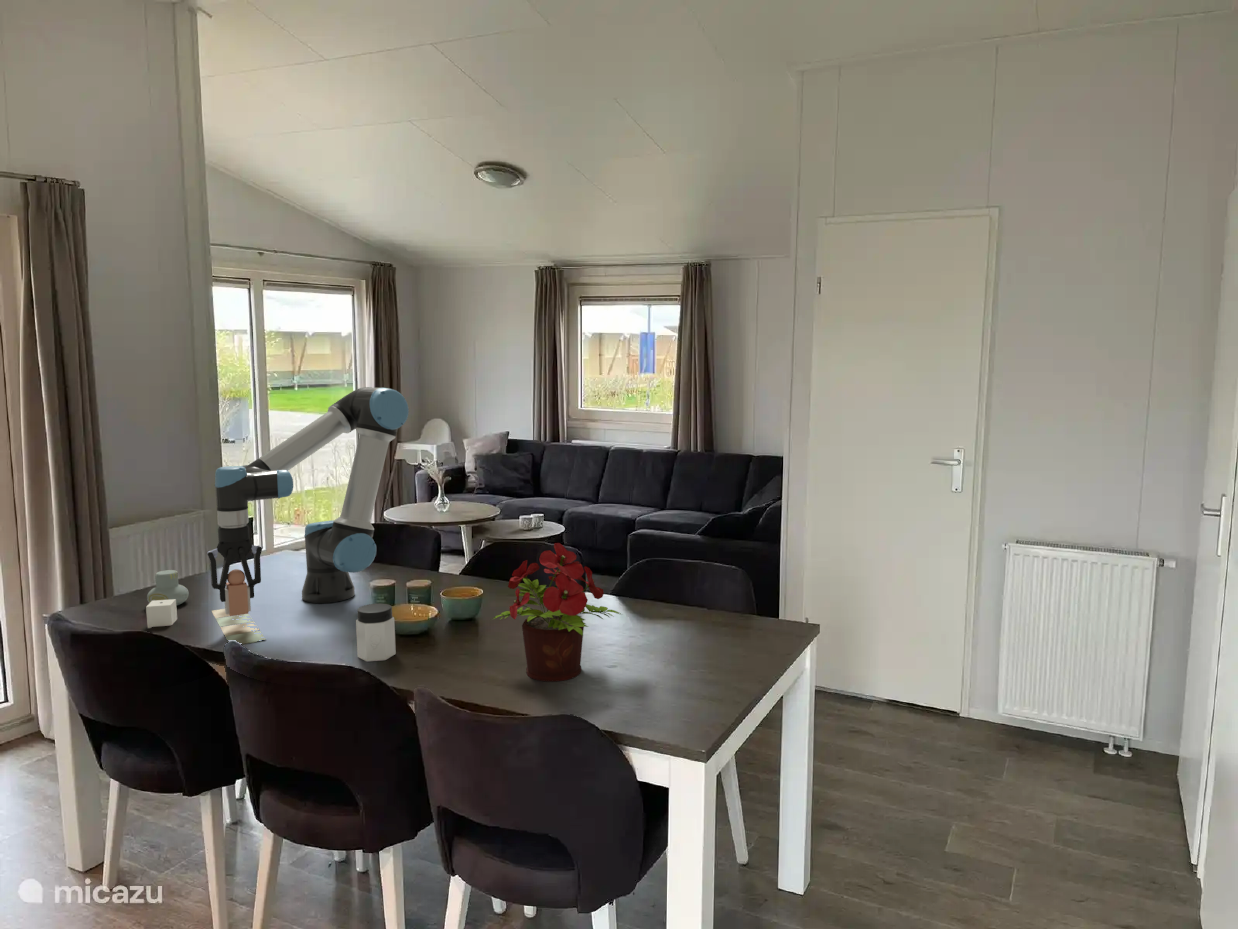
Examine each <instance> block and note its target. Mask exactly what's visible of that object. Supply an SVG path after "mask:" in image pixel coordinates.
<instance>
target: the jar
mask: <svg viewBox="0 0 1238 929" xmlns="http://www.w3.org/2000/svg"><path fill="white" fill-rule="evenodd" d="M356 613H357V619H355V630H356V650H357V652H356V653H357V654H356V655H357V658H359V659H361V660H362V661H364V662H368V663H369V662H380V661H386V660H388V659H390V658H391V657H394V655H396V653H397V652H396V631H395V630H396V629H395V628H396V627H395V617H394V616H393V607H392V605H390V604H387V603H369V604H365V605H361V606H360V607H358V608H357V610H356Z"/></svg>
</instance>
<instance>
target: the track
mask: <svg viewBox="0 0 1238 929" xmlns="http://www.w3.org/2000/svg"><path fill="white" fill-rule="evenodd" d="M211 613H212V615H213V616H214V618H215V620H216V622H217V624H218V626H219V627H220V629H221V631H222V634H223V636H224V635H225V636H224V637H226V638H225V639H226V641H227V640H236V641H237V642H239V643H242V645H247V644H253V643H258V642H257V641H259V640H266V641H267V639H266V637H265V636H264V634H263V633H262V632H261V630H260V629H259V627H258V629H257V628H255V629H254V628H250V627H247V626H257V624H256V625H254V624H248V625H247V624H246V623H255V621H254V620H253V618H252V617H251V615H250V614H243V615H236V616H230V615H229V614H228V615H227V614H226V613H225V608H221V609H213V610H211ZM239 616H242V617H239ZM243 616H245V617H243ZM246 616H250V617H251V618H247V617H246ZM232 619H234V620H232ZM236 619H239V620H236ZM242 619H252V620H253V621H250V620H249V621H247V620H242ZM241 623H242V624H241ZM243 626H244V627H243ZM251 630H253V631H254V630H256V631H255V632H253V631H251ZM257 630H260V631H257ZM254 633H262V634H261V635H260V634H254ZM261 637H265V638H261Z"/></svg>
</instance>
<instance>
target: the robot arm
mask: <svg viewBox="0 0 1238 929" xmlns="http://www.w3.org/2000/svg"><path fill="white" fill-rule="evenodd" d="M409 409H410V408H409V404H408V401H407V400H406V398H405V396H404V395H403V394H402V393H400V392H399V391H398V390H396V389H393V388H390V387H371V386H363V387H360V388H359V387H358V388H357V389H355V390H353V391H351V392H349V393H348V394H346V395H345V396H343V397H342V398H340V399H338V400H337V401H335V402H333V403H332V404H331V405H330V406H329V407H328V408H327V412H326V413H324V414H323V415H321V416H320V417H318V418H317V419H315V420H314V421H312V422H311V423H309V424H307V425H306V426H305V427H303V428H302V429H299V431H297V432H296V433H295V434H292V435H291V436H290V437H289V438H287V439H285V440H284V441H282V442H281V443H279V444H278V445H276V446H275V447H274V448H272V449H270V450H269V451H267V452H266V453H264V454H263V455H262V456H260V457H259V458H257V459H255V460H254V461H252V462H251V463H249V464H244V465H241V466H240V465H232V466H229V465H228V466H227V465H226V466H220V467H218V468H216V470H215V475H214V479H215V480H214V487H215V497H216V512H217V513H216V516H217V526H218V528H217V535H218V536H217V537H218V544H217V546H216V548H214V549H211V550H207V551H206V555H207V557H208V558H209V567H210V568H209V569H210V582H211V586H212V588H213V589H214V590H219V600H220V602H221V603H224V609H225V613H226V614H227V615H228V614H230V612H229V593H228V589H227V588H226V583H228V580H227V577H228V574H229V572H230V567H231V566H230V565H231V563H232V562H233V561H239V562H240V563H241V567H242V569H243V570H242V571H243V572H244V574H245V580H246V584H247V594H248V613H249V612H252V605H251V599H254V597H255V586H256V585H257V584H261V582H262V575H261V574H262V572H261V554H262V551H263V547H262V546H260V545H259V544H258V545H254V544H252V543H251V538H250V526H249V525H248V523H249V522H250V520H249V518H250V517H249V505H248V504H249V503H248V502H253V501H261V500H272V499H278V500H279V499H280V498H285V497H289V496H291V495H292V493H293V491H294V479H293V475H292V474H291V472H290V471H289V470H292V468H294V467H296V466H297V465H298V464H300V463H301V462H303V461H305V460H306V459H307V458H309V457H310V456H312V455H313V454H314V453H316V452H317V451H318V450H320V449H322V448H323V447H325V446H327V444H330V443H331V442H333V441H334V440H335V439H336V438H338V437H339V436H341V435H342V434H350V433H351V432H352V431H354V430H355V431H356V432H357V433H358V440H357V445H356V448H355V453H354V458H353V462H352V466H351V470H350V475H349V480H348V483H347V487H346V491H345V494H344V495H345V496H344V499H343V503H342V508H341V513H340V516H339V517H337V518H335V519H333V520H324V521H323V520H322V521H317V522H312V523H308V524H306V525H305V528H304V536H303V537H304V544H305V546H304V547H305V559H306V561H305V562H306V576H305V580H304V581H303V582H304V583H303V586H302V590H301V599H302V600H303V601H304V602H307V603H313V604H328V603H337V602H342V601H346V600H349V599H351V598H353V597H354V596H355V594H356V593H355V586H354V582H353V580H352V578H351V576H350V573H351V574H352V573H355V574H356V573H359V572H363V571H365V570H366V569H367V568H368V567H370V565H371V564H372V563H373V562H374V560H375V557H376V556H377V544H376V543H375V541H374V539H373V537H374V532H375V528H374V526H373V525H372V523H371V522H372V517H373V513H374V508H375V503H376V498H377V495H378V491H379V487H380V482H381V478H382V474H383V470H384V466H385V463H386V462H385V460H386V456H387V453H388V448H389V444H390V442H391V441H394V440H395V439H396V437H397V433H398V430H399V429H400V428H401V427H402V426H403V425H405V424H406V421H407V420H408V418H409V412H410V411H409ZM250 551H251V552H252V554H253V568H254V569H253V574H254V578H253V576H252V573H251V570H250V567H249V564H248V560H247V555H248V554H249V552H250ZM218 553H219V554H220V555H221V556H222V557H223V564H222V569H221V574H220V580H219V583H218V572H217V571H218V570H217V560H216V559H217V558H218Z"/></svg>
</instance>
